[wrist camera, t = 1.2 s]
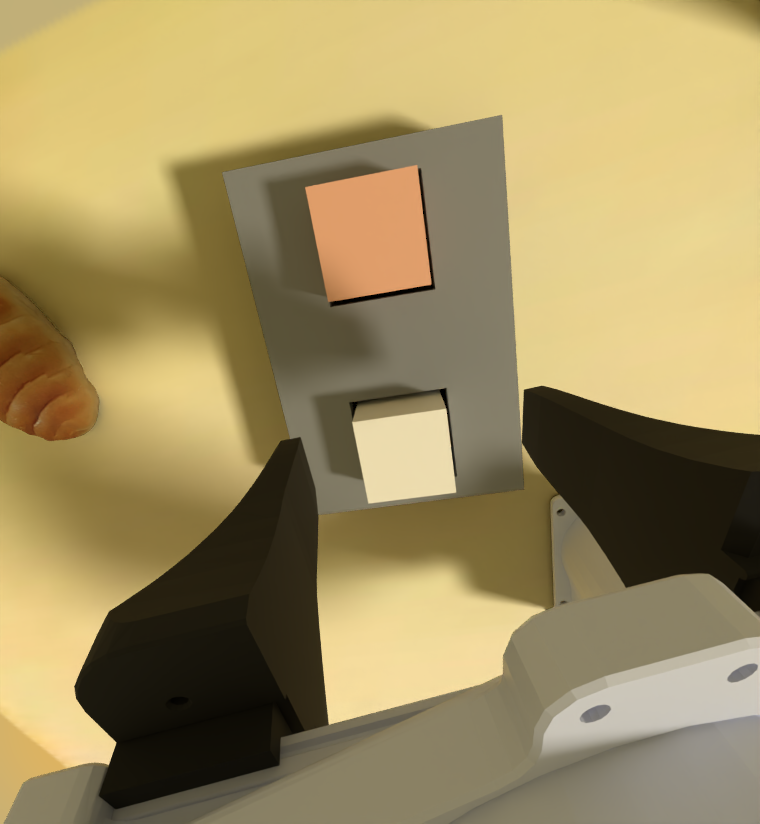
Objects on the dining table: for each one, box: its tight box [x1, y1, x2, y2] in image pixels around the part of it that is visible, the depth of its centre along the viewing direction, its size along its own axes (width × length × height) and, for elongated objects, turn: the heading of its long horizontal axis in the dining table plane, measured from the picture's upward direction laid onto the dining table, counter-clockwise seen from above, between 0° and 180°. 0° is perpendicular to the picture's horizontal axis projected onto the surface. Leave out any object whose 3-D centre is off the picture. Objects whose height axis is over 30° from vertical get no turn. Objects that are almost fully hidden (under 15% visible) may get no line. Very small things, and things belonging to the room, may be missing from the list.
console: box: [222, 115, 524, 515], centre depth 20 cm, size 16×11×4 cm
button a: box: [352, 389, 456, 504], centre depth 19 cm, size 4×4×4 cm
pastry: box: [0, 277, 99, 441], centre depth 22 cm, size 9×7×4 cm
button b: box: [305, 165, 431, 302], centre depth 16 cm, size 4×4×4 cm
